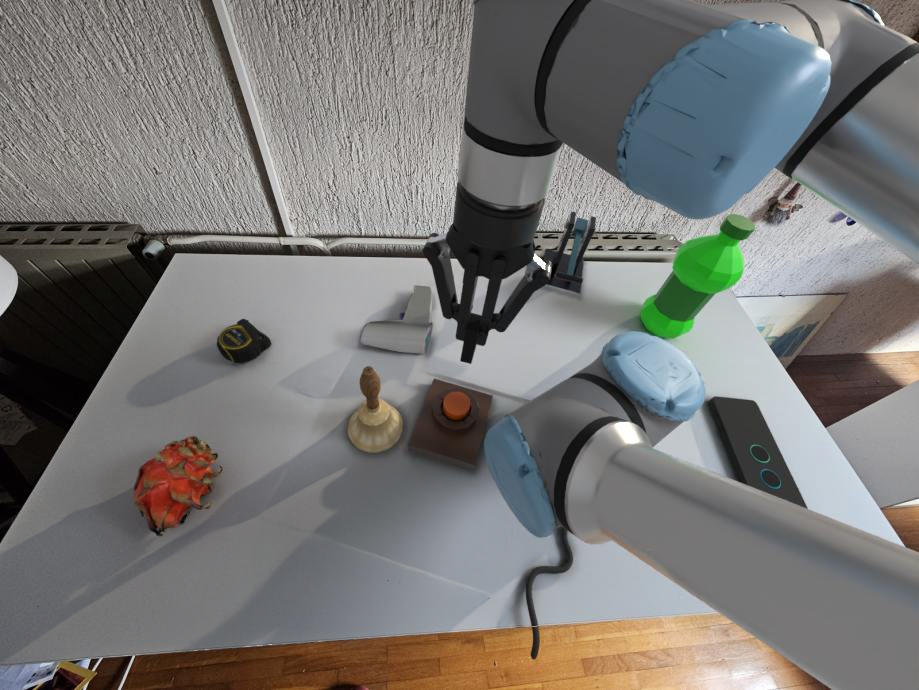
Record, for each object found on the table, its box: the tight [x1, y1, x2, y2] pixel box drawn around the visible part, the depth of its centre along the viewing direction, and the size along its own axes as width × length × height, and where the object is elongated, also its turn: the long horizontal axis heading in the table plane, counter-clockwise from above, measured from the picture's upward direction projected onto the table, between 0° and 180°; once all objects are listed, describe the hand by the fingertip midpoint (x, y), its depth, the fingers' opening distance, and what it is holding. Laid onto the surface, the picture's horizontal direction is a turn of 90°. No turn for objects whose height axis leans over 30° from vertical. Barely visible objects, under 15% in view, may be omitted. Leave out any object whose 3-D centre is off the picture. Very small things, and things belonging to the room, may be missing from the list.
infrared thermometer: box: [359, 284, 434, 355], centre depth 70 cm, size 5×12×15 cm
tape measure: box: [216, 318, 272, 364], centre depth 63 cm, size 7×7×4 cm
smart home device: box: [707, 395, 809, 509], centre depth 61 cm, size 8×2×20 cm
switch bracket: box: [543, 211, 597, 294], centre depth 79 cm, size 12×9×14 cm
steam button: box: [443, 392, 470, 421], centre depth 57 cm, size 4×4×2 cm
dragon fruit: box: [133, 435, 224, 538], centre depth 47 cm, size 8×8×12 cm
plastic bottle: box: [639, 213, 756, 340], centre depth 68 cm, size 10×10×25 cm
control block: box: [408, 378, 494, 471], centre depth 58 cm, size 12×10×4 cm
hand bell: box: [347, 365, 404, 454], centre depth 52 cm, size 8×8×16 cm
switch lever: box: [555, 216, 589, 285], centre depth 73 cm, size 14×5×2 cm, turn 165°
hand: (468, 354), depth 50 cm, fingers closed
